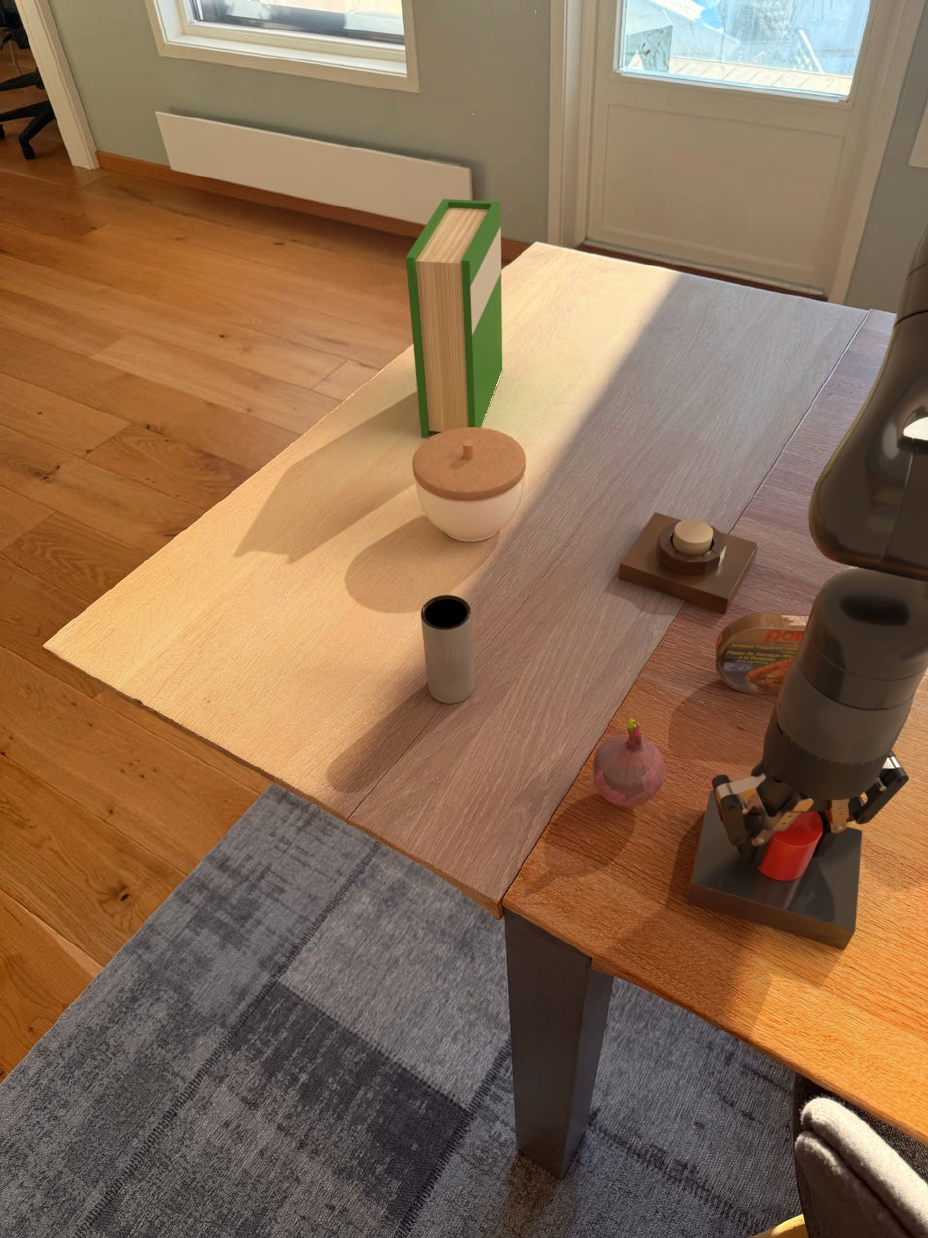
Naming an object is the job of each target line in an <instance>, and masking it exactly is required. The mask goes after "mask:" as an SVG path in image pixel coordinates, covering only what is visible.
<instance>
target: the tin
mask: <svg viewBox="0 0 928 1238" xmlns="http://www.w3.org/2000/svg"><path fill="white" fill-rule="evenodd" d="M809 615H810V614H791V613H790V614H789V613H775V612H773V613H772V612H756V613H751V614H746V615H743V616H741V617H738V618H737V619H735V620H733V621H731V622H730V623H729V624H728V625H726V626H725V627H724V628H723V629H722V630H721V631H720V633H719V635H718V637H717V640H716V642H715V670H716V672H717V675H718V676H719V678H720V680H722V682H723V683H725V684H726V685H727V686H728V687H731V688H732V689H734V690H735V691H738V692H742V693H746V694H750V695H766V696H778V695H779V692H780V688H781V685H782V682H783V679H784V676H785V674H786V671H787V669H788V666H789V664H790V663H791V661H792V659H793V657H794V656H795V654H796V652H797V650H798V648H799V645H800V642H801V639H802V636H803V633H804V630H805V627H806V624H807V621H808V618H809Z"/></svg>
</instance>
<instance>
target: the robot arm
mask: <svg viewBox="0 0 928 1238" xmlns="http://www.w3.org/2000/svg"><path fill="white" fill-rule="evenodd" d="M860 407H861V408H860V409H859V411H858V413H857V414H856V416H855V418H854V420H853V422H852V423H851V425H850V426H849V428H848V430H847V431H846V433H845V434H844V436H843V437H842V439H841V440H840V442H839V443H838V445H837V446H836V448H835V450H834V452H833V453H832V455H831V456H830V457H829V459H828V461H827V463H826V464H825V466H824V467H823V469H822V471H821V474H820V475H819V476H818V478H817V481H816V483H815V485H814V486H813V490H812V492H811V496H810V499H809V503H808V508H807V522H808V529H809V532H810V535H811V539H812V541H813V543H814V545H815V547H816V548H817V550H818V551H819V552H820V553H821V555H823V557H825V558H826V559H828V560H830V561H832V562H835V563H838V564H841V565H845V566H850V567H853V568H850V569H846V570H843V571H840V572H837V573H836V574H834V575H833V576H831V577H830V578H828V579H827V580H826V581H825V582H824V583H823V584H822V586H821V587H820V588H819V591H818V592H817V594H816V596H815V598H814V601H813V603H812V606H811V609H810V612H809V614H808V615H809V618H808V621H807V624H806V627H805V630H804V633H803V636H802V639H801V642H800V645H799V648H798V650H797V652H796V654H795V656H794V657H793V659H792V661H791V663H790V664H789V666H788V669H787V671H786V674H785V676H784V679H783V682H782V685H781V688H780V692H779V695H777V698H776V700H775V704H774V706H773V710H772V712H771V716H770V719H769V721H768V725H767V728H766V731H765V734H764V739H763V750H762V759H761V760H760V761H759V762H758V763H757V764H756V765H755V766H754V767H753V768H752V770H751V772H750V776H747V777H743V778H741V779H738V780H735V781H731V780H730V778H729V776H728V775H727V774H719V775H716V776H714V777H713V778H712V779H711V786H712V791H714V796H715V800H716V805H717V810H718V814H719V817H720V820H721V821H722V823H723V825H724V827H725V830H726V832H727V835H728V839H729V841H730V843H731V845H736V847H737V849H738V851H739V854H740V856H741V858H742V861H743V863H747V864H748V866H749V868H756V867H760V865H761V862H762V860H763V857H764V855H765V852H766V850H767V847H768V845H769V843H768V840H769V839H770V838H771V837H772V836H773V835H774V834H775V832H776V831H785V830H786V829H787V828H788V827H789V826H790V825H791V824H792V822H793V821H794V820H795V819H796V818H797V817H798V816H799V815H800V814H801V813H805V812H814V811H817V812H818V813H819V815H820V817H821V819H822V823H823V832H822V835H821V837H820V840H819V842H818V844H817V846H816V849H815V851H814V853H813V855H812V857H814V858H815V857H820V856H824V854H825V852H826V850H827V849H828V848H830V847H831V846H832V844H833V842H834V840H835V838H836V836H837V834H838V833H839V832H841V831H843V830H845V829H846V828H847V827H848V824H849V823H851V822H854V821H855V823H856V824H857V825H859V826H860V825H861V826H862V825H865V824H868V823H869V822H871V821H872V820H873V819H874V818H875V817H876V816H877V814H879V813H880V811H881V810H882V809H883V808H884V807H885V806H886V805H887V804H888V803H889V802H890V801H891V800H892V799H893V798H894V796H895V795H897V793H898V792H900V790H901V789H902V788H903V787H904V786H905V785H906V784H907V783H908V781H909V780H910V776H909V775H908V774H907V772H906V770H905V768H904V767H903V766H902V764H901V762H900V761H899V759H898V757H897V756H896V754H895V753H894V751H893V748H894V746H895V744H896V742H897V740H898V738H899V737H900V735H901V732H902V730H903V728H904V726H905V724H906V722H907V720H908V718H909V716H910V712H911V710H912V706H913V702H914V698H915V695H916V692H917V689H918V687H919V686H920V684H921V682H922V679H923V678H924V676H925V674H926V672H927V670H928V439H924V438H918V437H912V436H907V435H905V429H907V428H908V427H909V426H911V425H912V424H914V423H915V422H917V421H919V420H922V419H927V418H928V222H927V223H926V224H925V226H924V228H923V230H922V232H921V234H920V237H919V239H918V240H917V242H916V246H915V248H914V250H913V254H912V257H911V260H910V263H909V266H908V270H907V273H906V276H905V280H904V285H903V288H902V292H901V296H900V299H899V302H898V307H897V310H896V314H895V318H894V322H893V326H892V329H891V334H890V337H889V340H888V344H887V347H886V350H885V354H884V357H883V359H882V362H881V365H880V368H879V370H878V372H877V374H876V377H875V380H874V382H873V384H872V386H871V388H870V390H869V393H868V394H867V396H866V398H865V401H864V402H863V404H862V406H860ZM863 794H865V797H866V802H865V801H864V799H863V797H862V795H863ZM749 800H750V801H751V802H750V803H749ZM748 803H749V804H748ZM747 804H748V806H746V805H747ZM759 816H760V817H761V819H762V822H761V820H760V818H759Z"/></svg>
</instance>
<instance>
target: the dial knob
mask: <svg viewBox="0 0 928 1238" xmlns="http://www.w3.org/2000/svg"><path fill="white" fill-rule="evenodd" d="M760 820H761V822H762V819H761V817H760ZM822 832H823V823H822V819H821V817H820V815H819V813H818V812H817V811H814V812H805V813H801V814H800V815H799V816H798V817H797V818H796V819H795V820H794V821H793V822H792V824H791V825H790V826H789V827H788V828H787V829H786V830H785V831H776V832H775V834H774V835H773V836H772V837H771V838H770V839H769V840H768V843H769V845H768V847H767V850H766V852H765V855H764V857H763V860H762V862H761V865H760V867H757V869H758V870H759V871H761V872H762V873H763V874H764V875H766V876H768V877H770V878H772V879H775V880H780V881H790V880H794V879H796V878H799V877H800V876H801V875H803V874H804V872H805V871H806V869H807V867H808V864H809V862H810V860H811V858H812V855H813V853H814V851H815V849H816V846H817V844H818V842H819V840H820V837H821V835H822Z"/></svg>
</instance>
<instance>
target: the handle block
mask: <svg viewBox="0 0 928 1238" xmlns="http://www.w3.org/2000/svg"><path fill="white" fill-rule="evenodd" d="M750 802H751V799H750V800H749V803H750ZM749 803H748V804H749ZM748 804H747V805H746V806H748ZM759 818H760V816H759ZM863 833H864V832H863V830H861V829H858V828H854V827H850V826H847V828H846V829H845V830H843V831H841V832H839V833H838V834H837V836H836V838H835V840H834V842H833V844H832V846H831V847H830V848H828V849H827V850H826V852H825V854H824V856H820V857H815V858H814V857H812V858H811V860H810V862H809V864H808V867H807V869H806V871H805V872H804V874H803V875H801V876H800V877H799V878H796V879H794V880H790V881H780V880H775V879H772V878H770V877H768V876H766V875H764V874H763V873H762V872H761V871H759V870H758V869H757V867H756V868H749V866H748V864H747V863H743V861H742V858H741V856H740V854H739V851H738V849H737V847H736V845H731V843H730V841H729V839H728V835H727V832H726V830H725V827H724V825H723V823H722V821H721V820H720V817H719V814H718V810H717V805H716V800H715V796H714V791H713V789H711V790H709V793H708V798H707V802H706V805H705V809H704V815H703V818H702V824H701V828H700V832H699V837H698V843H697V847H696V852H695V856H694V861H693V866H692V869H691V875H690V880H689V884H688V889H687V893H686V899H685V902H686V903H690V904H692V905H696V906H699V907H702V908H706V909H710V910H712V911H715V912H719V913H721V914H725V915H728V916H732V917H735V918H739V919H742V920H745V921H749V922H752V923H756V924H758V925H762V926H765V927H769V928H772V929H775V930H779V931H781V932H785V933H788V934H790V935H791V934H792V935H794V936H798V937H800V938H801V937H802V938H805V939H808V940H811V941H815V942H818V943H821V944H824V945H828V946H832V947H835V948H838V949H841V950H845V951H846V949H847V947H848V946H849V944H850V942H851V940H852V938H853V937H854V935H855V933H856V928H857V927H856V926H857V918H858V917H857V916H858V915H857V914H858V900H859V886H860V874H861V873H860V871H861V857H862V845H863Z"/></svg>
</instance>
